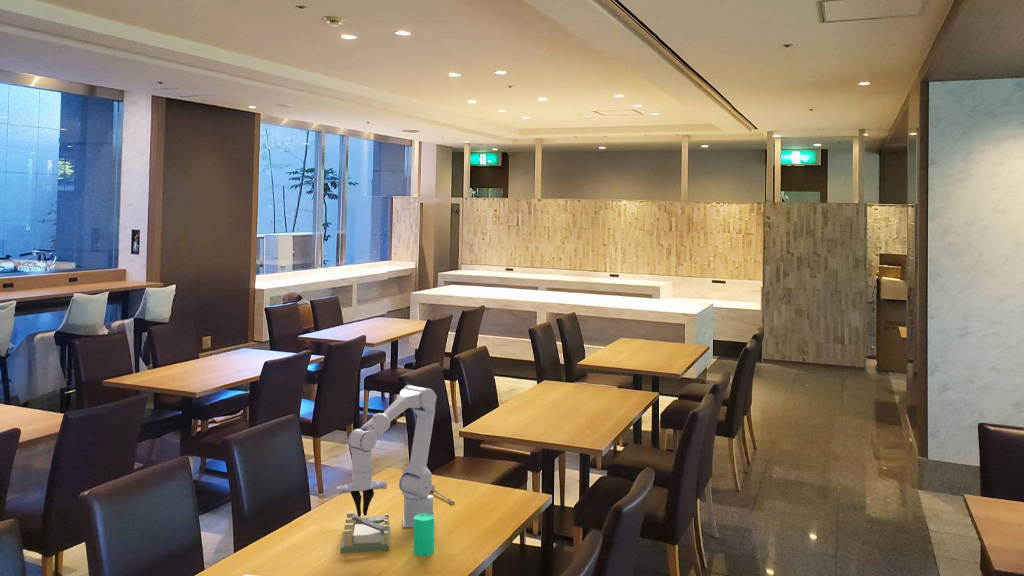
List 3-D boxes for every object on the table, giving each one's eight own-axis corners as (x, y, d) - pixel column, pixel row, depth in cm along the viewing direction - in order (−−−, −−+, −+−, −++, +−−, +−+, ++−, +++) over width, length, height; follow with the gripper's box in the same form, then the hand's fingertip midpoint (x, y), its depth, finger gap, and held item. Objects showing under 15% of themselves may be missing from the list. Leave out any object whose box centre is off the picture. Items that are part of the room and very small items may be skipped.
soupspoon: (428, 487, 278) (412, 492, 274) (427, 478, 278) (412, 483, 274) (460, 503, 260) (444, 508, 256) (459, 493, 260) (443, 498, 256)
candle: (425, 557, 216) (425, 517, 215) (409, 552, 219) (409, 512, 219) (438, 550, 221) (438, 510, 220) (422, 545, 225) (422, 506, 224)
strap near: (387, 530, 226) (388, 527, 226) (387, 534, 223) (388, 531, 223) (352, 516, 224) (353, 513, 224) (351, 519, 221) (352, 517, 221)
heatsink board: (390, 527, 238) (390, 509, 237) (389, 550, 221) (389, 530, 220) (344, 529, 236) (344, 511, 235) (340, 552, 219) (340, 532, 218)
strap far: (388, 518, 235) (387, 515, 235) (387, 521, 232) (387, 519, 232) (350, 520, 233) (350, 518, 233) (350, 524, 230) (350, 521, 230)
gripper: (383, 463, 229) (383, 506, 230) (334, 468, 223) (334, 513, 224) (388, 470, 222) (388, 515, 223) (338, 475, 216) (339, 521, 218)
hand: (361, 514), depth 223 cm, fingers closed
